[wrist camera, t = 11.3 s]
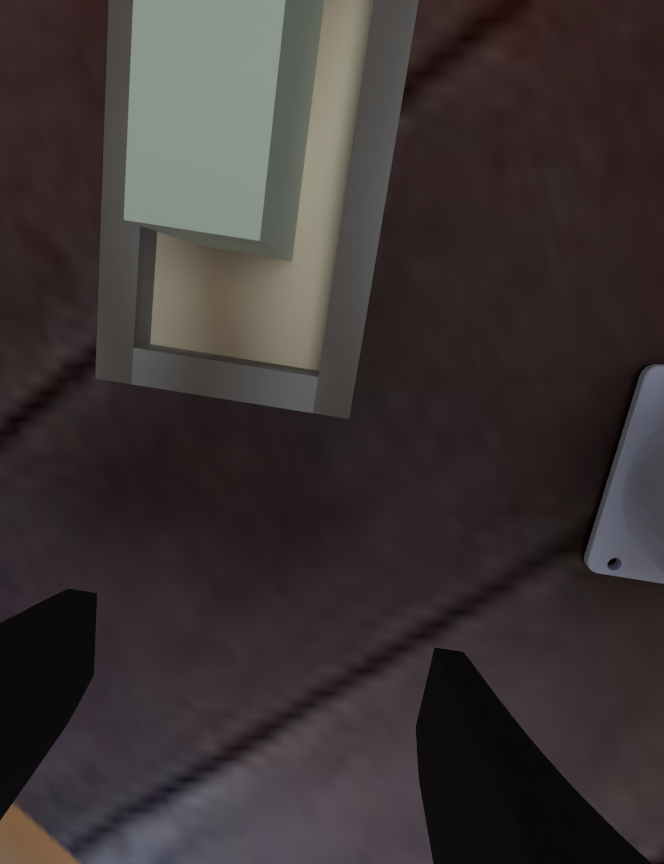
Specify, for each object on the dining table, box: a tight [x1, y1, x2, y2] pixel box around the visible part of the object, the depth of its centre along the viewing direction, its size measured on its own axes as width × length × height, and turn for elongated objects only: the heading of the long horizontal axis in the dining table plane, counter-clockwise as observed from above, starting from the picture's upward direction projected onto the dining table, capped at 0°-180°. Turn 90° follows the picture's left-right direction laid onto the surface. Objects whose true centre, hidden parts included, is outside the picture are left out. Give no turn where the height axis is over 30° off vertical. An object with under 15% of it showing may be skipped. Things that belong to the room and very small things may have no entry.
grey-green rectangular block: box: [124, 0, 324, 261], centre depth 13 cm, size 3×9×6 cm, turn 171°
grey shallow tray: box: [95, 0, 419, 419], centre depth 16 cm, size 8×18×2 cm, turn 171°
